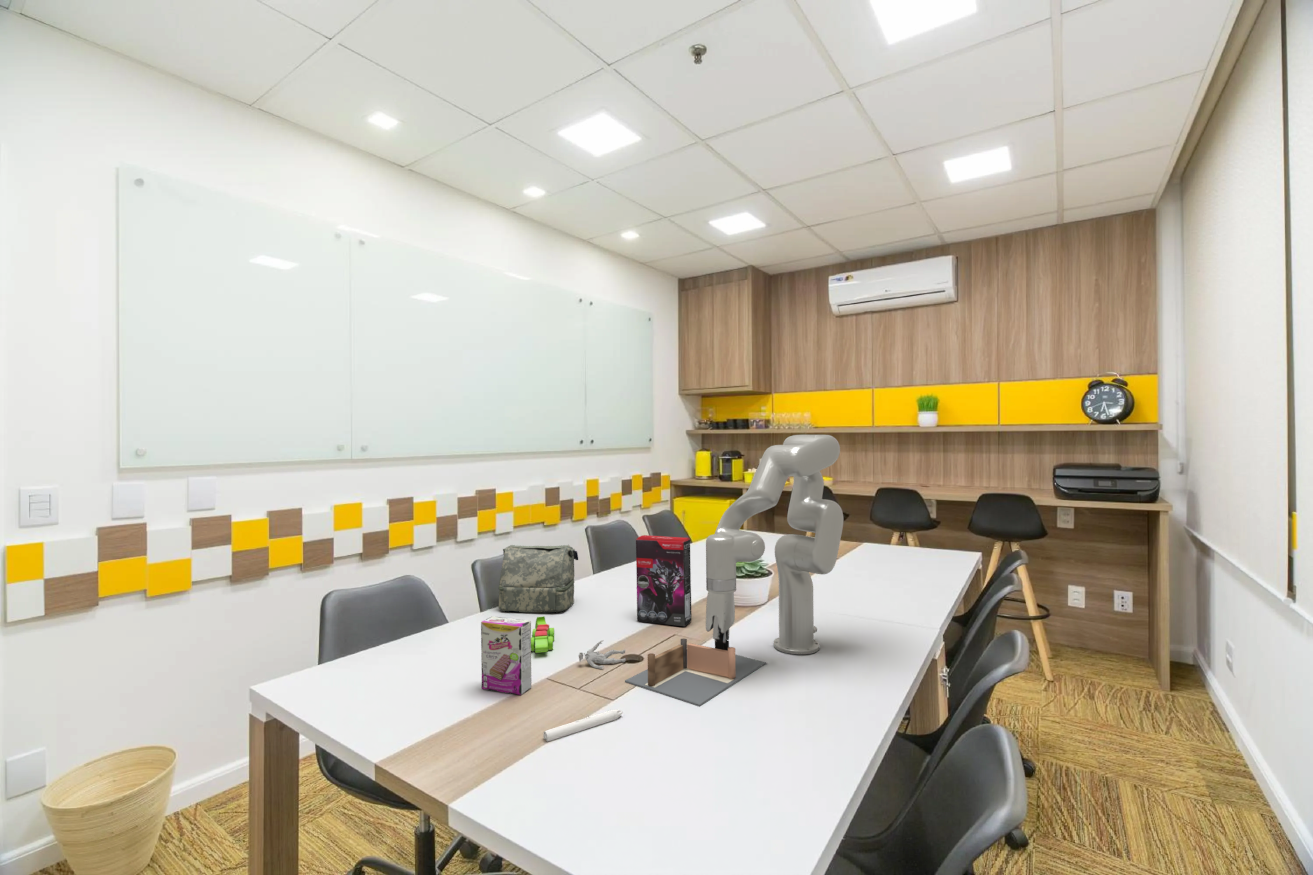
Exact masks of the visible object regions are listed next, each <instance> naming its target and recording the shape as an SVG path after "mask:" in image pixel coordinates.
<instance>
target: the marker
mask: <svg viewBox="0 0 1313 875" xmlns="http://www.w3.org/2000/svg"><path fill="white" fill-rule="evenodd" d="M622 714H623V711H622V710H621V709H610V710H607V711H603V712H601V713H597V714H594V715H590V716H586V717H584V718H581V719H577V720H574V721H572V722H569V723H565V724H562V725H559V726H556V727H553V728H550V729H547V730H545V731H543V733H542V735H543V740H545V741H546V742H547V743H548V742H552V741H554V740H556V739H557V740H558V739H561V738H564V737H567V736H569V735H573V734H576V733H579V732H582V731H585V730H588V729H591V728H594V727H597V726H600V725H602V724H607V723H609V722H610V723H611V722H613V721H615V720H617V719H619V718H620V717H621V716H622Z"/></svg>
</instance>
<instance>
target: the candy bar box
mask: <svg viewBox="0 0 1313 875" xmlns="http://www.w3.org/2000/svg"><path fill="white" fill-rule="evenodd" d="M480 630H481V631H480V637H481V638H480V640H481V641H480V642H481V644H480V648H481V649H480V650H481V660H480V661H481V690H485V689H486V691H491V690H492V691H493V692H499V693H504V692H505V693H504V694H510V693H511V695H517V696H523V695H525V693H526V692H528V690H530V689H531V688H532V652H531V637H532V621H531V620H525V619H517V618H516V619H515V618H509V617H501V616H490V617H487V618H486V619H483V620H481V622H480Z"/></svg>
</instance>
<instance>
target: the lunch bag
mask: <svg viewBox="0 0 1313 875" xmlns="http://www.w3.org/2000/svg"><path fill="white" fill-rule="evenodd" d="M502 551H503V552H502V553H503V559H502V564H501V570H500V578H499V581H498V610H500V611H502V612H505V611H519V612H518V613H545V612H556V613H561V612H563V611H566V610H568V609H569V608H570V607H571V606H573V604H574V602H575V598H574V597H575V561H579V555H578V551H577V550H576V549H575V548H573V547H572V546H571V545H569V544H566V545H565V544H564V545H515V544H514V545H513V544H510V545H508V546H506V547H505V548H502Z"/></svg>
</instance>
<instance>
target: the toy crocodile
mask: <svg viewBox="0 0 1313 875" xmlns="http://www.w3.org/2000/svg"><path fill="white" fill-rule="evenodd" d="M554 641H555V627H550V624H548V623H547V622H546V616H543V615H542V616H537V617H536V620H535V626H534V628H533V629H532V630H531V651H532V652H535V653H536V654H539V653H548V652H549V651H552V650H554ZM534 650H535V651H534Z"/></svg>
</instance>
